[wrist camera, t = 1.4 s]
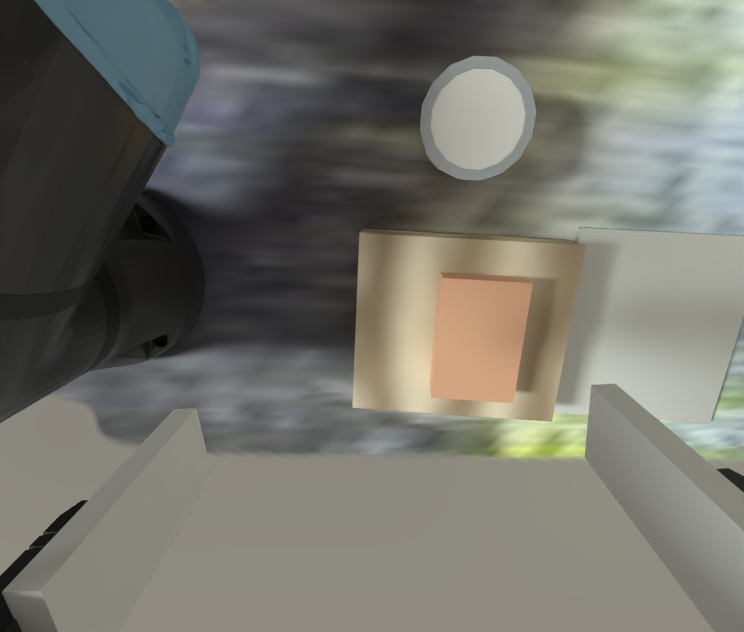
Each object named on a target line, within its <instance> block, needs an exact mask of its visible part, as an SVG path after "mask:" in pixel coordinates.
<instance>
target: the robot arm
mask: <svg viewBox="0 0 744 632" xmlns="http://www.w3.org/2000/svg"><path fill="white" fill-rule="evenodd" d="M200 62H201V61H200V54H199V48H198V45H197V42H196V39H195V37H194V35H193V33H192V31H191V29H190V27H189V26H188V24H187V23H186V21H185V20H184V18H183V17H182V16H181V15H180V13H179V12H178V11H177V10H176V8H175V7H174V6H173V5H172V4H171V3H170V2H169V1H168V0H0V423H1V422H3V421H4V420H6V419H8V418H10V417H11V416H13V415H15V414H16V413H18V412H20V411H21V410H23V409H25V408H26V407H28V406H30V405H32V404H33V403H35V402H37V401H38V400H40V399H42V398H44V397H45V396H47V395H49V394H50V393H52V392H54V391H56V390H57V389H59V388H61V387H62V386H64V385H66V384H67V383H69V382H71V381H73V380H74V379H76V378H78V377H79V376H81V375H83V374H85V373H86V372H88V371H91V370H98V369H105V368H112V367H119V366H126V365H132V364H137V363H141V362H144V361H147V360H149V359H152V358H154V357H156V356H158V355H160V354H162V353H163V352H165V351H166V350H168V349H169V348H170V347H172V346H173V345H175V344H176V343H178V342H179V341H180V340H181V339H182V338H183V337H184V336H185V335H186V334H187V333H188V332H189V331H190V329H191V328H192V326H193V325H194V323H195V321H196V319H197V317H198V315H199V312H200V309H201V306H202V301H203V294H204V278H203V271H202V266H201V262H200V259H199V256H198V253H197V250H196V248H195V246H194V244H193V242H192V240H191V238H190V236H189V235H188V233H187V232H186V230H185V229H184V227H183V226H182V225H181V223H180V222H179V221H178V220H177V219H176V217H175V216H174V215H173V214H172V213H171V212H170V211H168V210H167V209H166V208H165V207H164V206H163V205H161V204H160V203H159V202H157V201H156V200H154V199H153V198H151V197H149V196H148V195H146V194H144V193H142V191H143V189H144V187H145V186H146V184H147V182H148V180H149V178H150V177H151V175H152V173H153V171H154V170H155V168H156V166H157V164H158V162H159V161H160V159H161V157H162V155H163V154H164V152H165V150H166V148H167V146H168V147H170V148H171V147H172V145H173V144H174V141H175V137H174V131H175V129H176V127H177V124H178V122H179V120H180V117H181V115H182V113H183V111H184V109H185V106H186V104H187V102H188V100H189V98H190V96H191V94H192V92H193V90H194V88H195V86H196V83H197V81H198V78H199V74H200ZM585 458H586V460H587V461H588V462H589V464H590V465H591V466H592V468H593V469H594V470H595V471H596V473H597V474H598V476H599V477H600V478H601V480H602V481H603V482H604V484H605V485H606V486H607V488H608V489H609V490H610V492H611V493H612V495H613V496H614V497H615V499H616V500H617V501H618V502H619V504H620V505H621V507H622V508H623V509H624V510H625V512H626V513H627V515H628V516H629V517H630V519H631V520H632V521H633V523H634V524H635V525H636V527H637V528H638V529H639V531H640V532H641V534H642V535H643V536H644V538H645V539H646V540H647V542H648V543H649V544H650V546H651V547H652V548H653V550H654V551H655V552H656V554H657V555H658V556H659V558H660V559H661V561H662V562H663V563H664V565H665V566H666V567H667V568H668V570H669V571H670V573H671V574H672V575H673V577H674V578H675V579H676V581H677V582H678V583H679V585H680V586H681V587H682V589H683V590H684V592H685V593H686V594H687V596H688V597H689V598H690V600H691V601H692V602H693V604H694V605H695V606H696V607H697V609H698V610H699V612H700V613H701V614H702V616H703V617H704V618H705V620H706V621H707V623H708V624H709V625H710V626H711V628H712V629H713V631H714V632H744V476H742V475H740V474H738V473H736V472H734V471H732V470H731V469H729V468H727V469H715V468H714V467H713V466H712V465H711V464H709V463H708V462H707V461H706V460H705V459H703V458H702V457H701V456H700V455H699V454H698V453H696V452H695V451H694V450H693V449H692V448H691V447H689V446H688V445H687V444H686V443H685V442H683V441H682V440H681V439H680V438H679V437H678V436H676V435H675V434H674V433H673V432H672V431H671V430H669V429H668V428H667V427H666V426H665V425H663V424H662V423H661V422H660V421H659V420H658V419H656V418H655V417H654V416H653V415H652V414H651V413H649V412H648V411H647V410H646V409H645V408H643V407H642V406H641V405H640V404H639V403H638V402H636V401H635V400H634V399H633V398H632V397H631V396H629V395H628V394H627V393H626V392H625V391H623V390H622V389H621V388H620V387H619V386H618V385H616V384H599V385H591V391H590V403H589V415H588V426H587V438H586V450H585ZM211 477H212V474H211V470H210V465H209V461H208V457H207V452H206V448H205V444H204V439H203V435H202V431H201V427H200V422H199V418H198V414H197V410H196V408H191V409H174V410H173V411H172V412H171V413H170V415H169V416H168V417H167V418H166V419H165V420H164V421H163V422H162V423H161V424H160V425H159V426H158V427H157V428H156V429H155V430H154V431H153V433H152V434H151V435H150V436H149V437H148V438H147V439H146V440H145V441H144V442H143V443H142V444H141V445H140V446H139V447H138V448H137V449H136V451H135V452H134V453H133V454H132V455H131V456H130V457H129V458H128V459H127V460H126V461H125V462H124V463H123V464H122V465H121V466H120V467H119V468H118V470H117V471H116V472H115V473H114V474H113V475H112V476H111V477H110V478H109V479H108V480H107V481H106V482H105V483H104V484H103V485H102V487H101V488H100V489H99V490H98V491H97V492H96V493H95V494H94V495H93V496H92V497H91V498H90V499H89V500H84V501H80V502H79V503H77V504H76V505H75V506H73V507H72V508H70V509H69V510H68V511H66V512H64V513H63V514H61V515H60V516H59V517H58V518H57V519H56V520H55V521H54V522H53V523H52V524H51V525H50V526H49V527H48V528H47V529H46V530H45V531H44V532H43V536H39V537H38V538H37V539H36V540H35V541H34V542H33V543H32V544H31V545H30V546H29V550H25V551H24V552H23V553H22V555H21V556H20V557H19V558H18V559H17V560H16V561H15V562H14V563H13V564H12V565H11V566H10V567H9V568H8V569H7V570H6V571H5V572H4V573H3V574H2V575H1V576H0V632H119V631H120V629H121V628H122V626H123V624H124V623H125V621H126V619H127V618H128V616H129V614H130V613H131V611H132V609H133V608H134V606H135V604H136V603H137V601H138V599H139V597H140V596H141V594H142V593H143V591H144V589H145V587H146V586H147V584H148V582H149V581H150V579H151V577H152V576H153V574H154V572H155V571H156V569H157V567H158V565H159V564H160V562H161V561H162V559H163V557H164V556H165V554H166V552H167V551H168V549H169V547H170V546H171V544H172V542H173V541H174V539H175V537H176V536H177V534H178V532H179V531H180V529H181V527H182V525H183V524H184V522H185V520H186V519H187V517H188V515H189V514H190V512H191V510H192V509H193V507H194V505H195V504H196V502H197V500H198V499H199V497H200V495H201V494H202V492H203V490H204V489H205V487H206V485H207V483H208V482H209V480H210V478H211Z"/></svg>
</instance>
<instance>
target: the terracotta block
mask: <svg viewBox="0 0 744 632" xmlns="http://www.w3.org/2000/svg"><path fill="white" fill-rule="evenodd" d="M532 285H533V283H532V282H530V281H529V280H527V279H525V278H524V277H514V276H496V275H479V274H461V273H444V272H440V277H439V287H438V298H437V308H436V318H435V329H434V339H433V350H432V360H431V370H430V381H429V387H430V392H431V398H443V399H458V400H472V401H487V402H501V403H514V396H515V390H516V384H517V378H518V372H519V366H520V359H521V353H522V347H523V341H524V335H525V329H526V322H527V316H528V310H529V304H530V298H531V292H532Z"/></svg>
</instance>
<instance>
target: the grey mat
mask: <svg viewBox="0 0 744 632" xmlns="http://www.w3.org/2000/svg"><path fill="white" fill-rule="evenodd" d="M576 243H579V244H583V245H586V248H585V253H584V258H583V264H582V269H581V274H580V279H579V284H578V289H577V294H576V300H575V305H574V310H573V315H572V320H571V325H570V330H569V336H568V341H567V346H566V351H565V356H564V361H563V366H562V372H561V377H560V382H559V387H558V392H557V397H556V402H555V408H554V413H568V414H582V415H589V403H590V391H591V385H599V384H616V385H618V386H619V387H620V388H621V389H622V390H623V391H625V392H626V393H627V394H628V395H629V396H631V397H632V398H633V399H634V400H635V401H636V402H638V403H639V404H640V405H641V406H642V407H643V408H645V409H646V410H647V411H648V412H649V413H651V414H652V415H653V416H654V417H655V418H656V419H658V420H669V421H683V422H698V423H710V422H711V419H712V416H713V412H714V409H715V406H716V403H717V400H718V397H719V394H720V390H721V387H722V384H723V381H724V378H725V375H726V372H727V368H728V365H729V362H730V359H731V356H732V353H733V350H734V346H735V343H736V340H737V337H738V334H739V331H740V328H741V324H742V321H743V318H744V236H735V235H716V234H697V233H678V232H658V231H639V230H620V229H601V228H582V227H579V229H578V235H577V240H576Z"/></svg>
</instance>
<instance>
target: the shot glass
mask: <svg viewBox="0 0 744 632" xmlns="http://www.w3.org/2000/svg"><path fill="white" fill-rule="evenodd" d="M535 118H536V107H535V102H534V98H533V93H532V88H531V86H530V85H529V84H528V82H527V81H526V79H525V78H524V77H523V75H522V74H521V72H520V71H519V70H518V68H516V67H514V66H512V65H511V64H509V63H507V62H505V61H503V60H502V59H500V58H498V57H488V56H472V57H469V58H467V59H464V60H462V61H459V62H456V63H454V64H451V65H450V66H449V67H448V68H447V69H446V70H445V71H444V72H443V73H442V74H441V75H440V76H439V77H438V78H436V79H435V80H434V81H433V83H432V85H431V87H430V89H429V91H428V93H427V95H426V97H425V99H424V102H423V104H422V110H421V121H420V132H421V137H422V141H423V145H424V148H425V152H426V155H427V157H428V159H429V160H430V161H431V162H432V164H433V165H434V166H435V167H436V168H437V169H439V170H441V171H443V172H445V173H446V174H448V175H451V176H453V177H455V178H457V179H462V180H478V181H481V180H484V179H487V178H490V177H493V176H496V175H499V174H502V173H503V172H504V171H506V170H507V169H508V168H509V167H510V166H511V165H513V164H514V163H515V162H516V161H517V160H518V159H520V158H521V156H522V154H523V152H524V151H525V149H526V147H527V145H528V143H529V142H530V140H531V138H532V136H533V130H534V124H535Z"/></svg>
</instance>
